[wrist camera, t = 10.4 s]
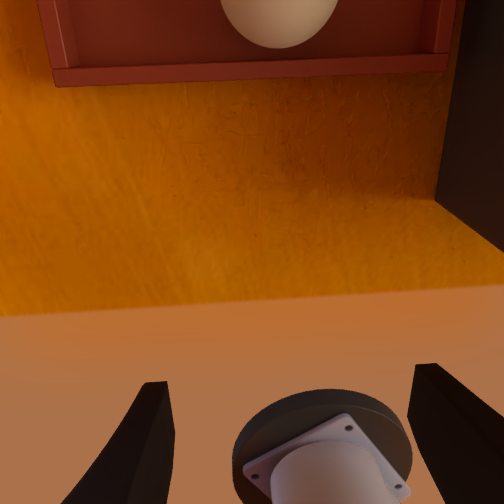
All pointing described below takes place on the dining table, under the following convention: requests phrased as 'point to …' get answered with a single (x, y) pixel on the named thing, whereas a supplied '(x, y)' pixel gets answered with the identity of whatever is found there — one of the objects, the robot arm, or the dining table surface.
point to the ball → (278, 20)
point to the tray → (236, 42)
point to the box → (477, 125)
